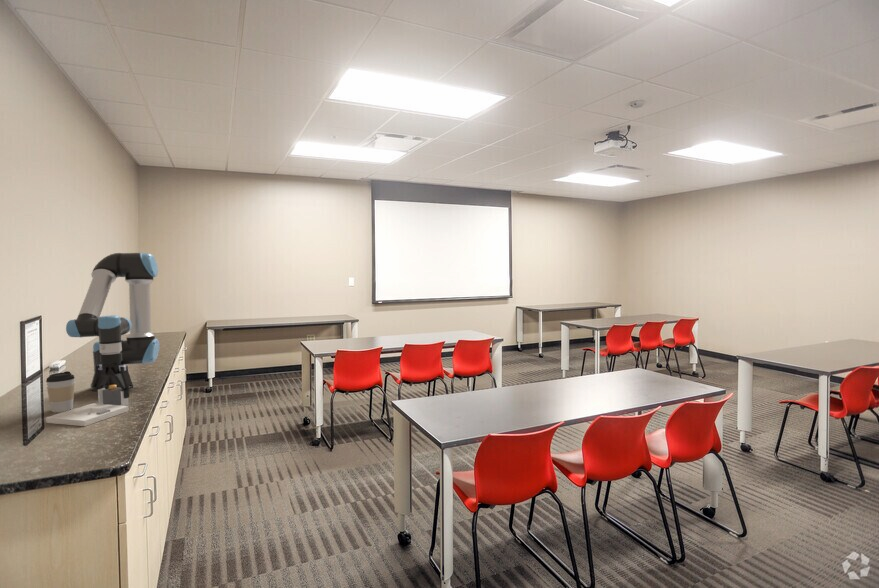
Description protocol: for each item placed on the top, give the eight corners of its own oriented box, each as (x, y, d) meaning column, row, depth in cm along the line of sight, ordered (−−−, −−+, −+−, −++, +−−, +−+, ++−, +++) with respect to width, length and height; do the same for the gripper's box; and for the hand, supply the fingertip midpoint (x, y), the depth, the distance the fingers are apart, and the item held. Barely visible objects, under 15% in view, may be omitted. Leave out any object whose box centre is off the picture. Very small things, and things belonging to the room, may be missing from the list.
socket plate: (92, 408, 189) (92, 401, 189) (128, 410, 185) (128, 404, 185) (46, 422, 171) (45, 415, 171) (85, 426, 167) (84, 419, 167)
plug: (114, 403, 196) (113, 383, 195) (123, 404, 195) (122, 384, 194) (103, 406, 191) (102, 386, 190) (113, 407, 190) (112, 387, 189)
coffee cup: (60, 413, 182) (58, 376, 181) (41, 412, 184) (39, 375, 183) (82, 406, 191) (80, 371, 190) (64, 405, 193) (62, 370, 192)
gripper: (79, 353, 190) (82, 405, 192) (126, 355, 185) (128, 409, 186) (96, 350, 198) (99, 400, 199) (142, 352, 192) (144, 403, 194)
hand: (113, 404), depth 193 cm, fingers open, 11 cm apart
